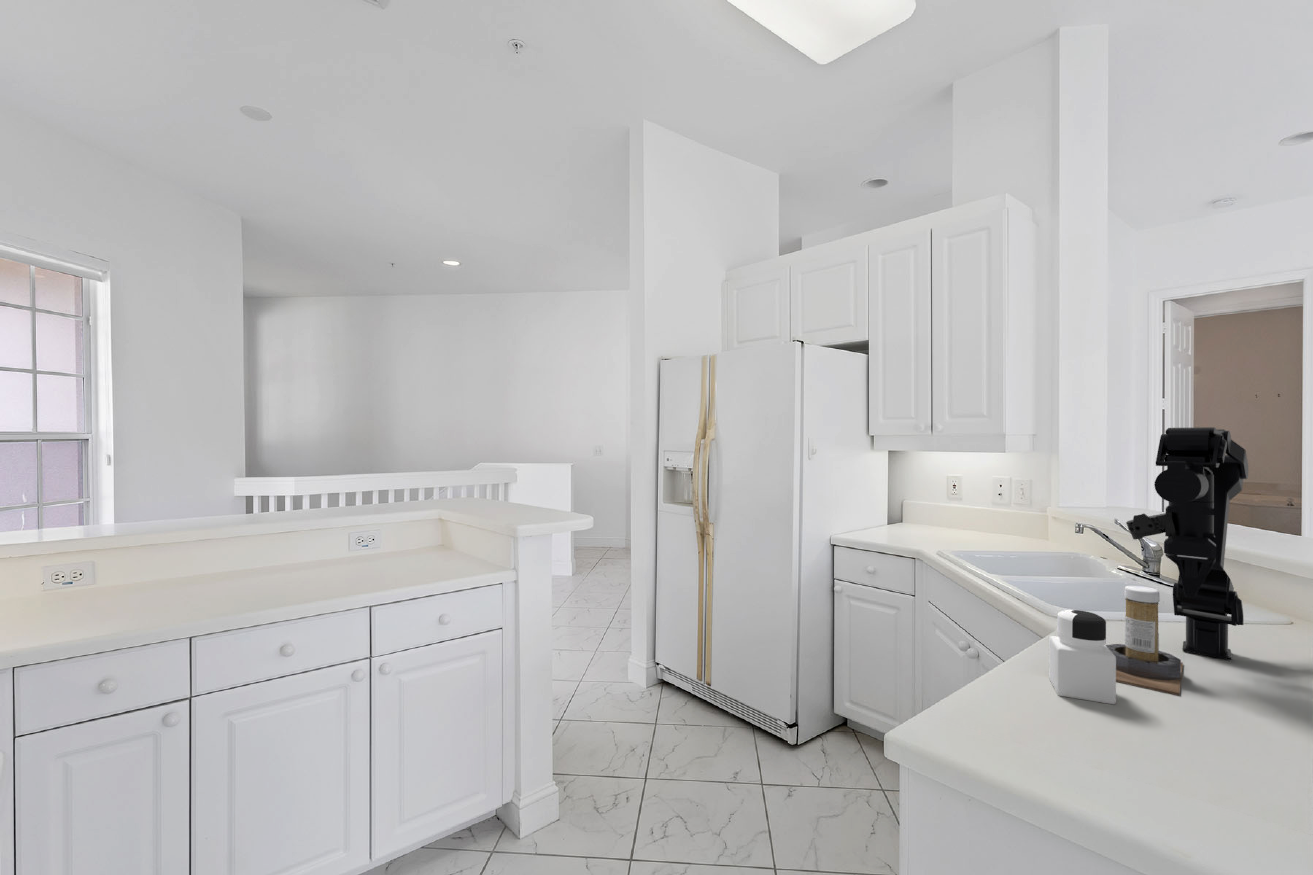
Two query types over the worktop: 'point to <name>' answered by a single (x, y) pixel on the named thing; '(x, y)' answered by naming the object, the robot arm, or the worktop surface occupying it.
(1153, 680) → the walnut board
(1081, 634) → the medicine bottle
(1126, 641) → the sprinkles bottle
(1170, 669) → the iron collar
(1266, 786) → the worktop surface
